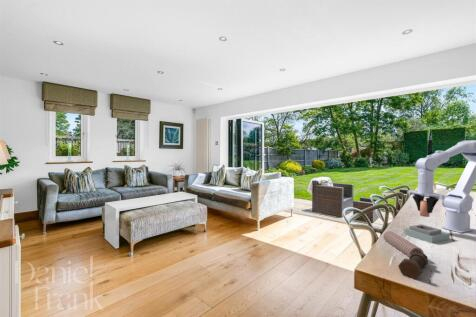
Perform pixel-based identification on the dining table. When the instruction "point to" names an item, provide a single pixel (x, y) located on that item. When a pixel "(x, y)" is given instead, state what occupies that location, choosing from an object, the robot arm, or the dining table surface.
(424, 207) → the peg
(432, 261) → the dining table surface
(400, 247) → the coil
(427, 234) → the socket board
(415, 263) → the bolt
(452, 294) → the dining table surface
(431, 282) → the dining table surface
